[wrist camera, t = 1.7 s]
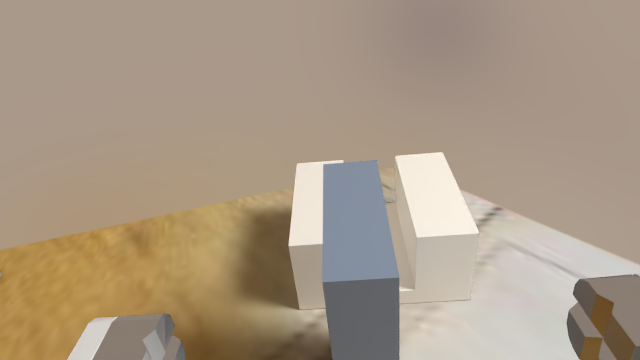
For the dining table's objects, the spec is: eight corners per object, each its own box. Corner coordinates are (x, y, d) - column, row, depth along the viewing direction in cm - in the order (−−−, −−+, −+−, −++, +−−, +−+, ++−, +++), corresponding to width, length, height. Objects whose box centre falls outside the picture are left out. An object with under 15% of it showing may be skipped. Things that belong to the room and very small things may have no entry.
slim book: (347, 475, 26) (322, 282, 17) (342, 344, 33) (323, 164, 25) (399, 473, 26) (399, 277, 17) (382, 342, 33) (376, 160, 25)
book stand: (299, 309, 37) (288, 246, 33) (305, 220, 47) (297, 163, 43) (470, 299, 36) (479, 233, 32) (438, 210, 46) (442, 152, 42)
